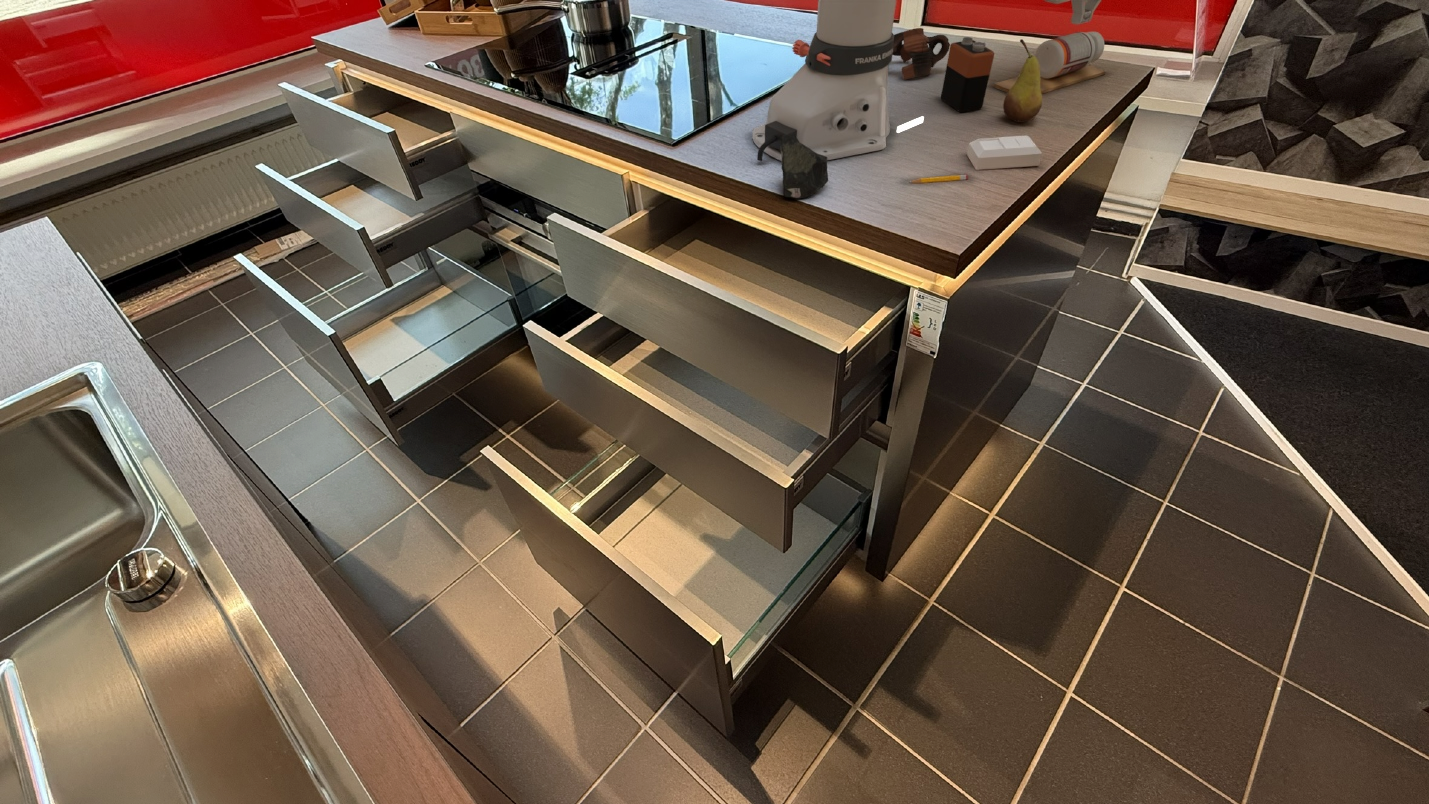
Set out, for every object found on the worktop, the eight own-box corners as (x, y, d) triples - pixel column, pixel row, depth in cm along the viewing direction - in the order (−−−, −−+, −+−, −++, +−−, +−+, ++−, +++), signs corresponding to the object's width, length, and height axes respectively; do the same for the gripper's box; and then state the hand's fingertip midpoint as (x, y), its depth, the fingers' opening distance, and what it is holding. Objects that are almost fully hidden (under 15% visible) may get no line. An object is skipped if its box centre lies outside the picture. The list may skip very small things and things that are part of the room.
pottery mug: (888, 85, 125) (880, 36, 123) (885, 91, 134) (877, 46, 131) (956, 65, 122) (949, 15, 120) (948, 72, 131) (942, 26, 129)
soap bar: (1038, 165, 99) (1043, 147, 97) (976, 169, 99) (979, 152, 97) (1027, 150, 102) (1032, 133, 101) (966, 154, 103) (970, 137, 101)
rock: (831, 131, 95) (825, 150, 100) (781, 131, 95) (778, 150, 100) (831, 193, 93) (826, 209, 98) (781, 193, 94) (778, 208, 98)
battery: (959, 113, 113) (973, 49, 106) (939, 99, 118) (950, 36, 111) (983, 109, 114) (997, 45, 107) (961, 95, 119) (974, 33, 112)
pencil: (968, 177, 97) (967, 173, 97) (909, 182, 97) (908, 178, 97) (966, 181, 98) (965, 177, 98) (908, 186, 98) (907, 182, 98)
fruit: (1022, 130, 108) (1045, 49, 99) (992, 119, 111) (1011, 39, 103) (1044, 120, 110) (1068, 40, 102) (1014, 110, 113) (1035, 31, 105)
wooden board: (1023, 99, 116) (1024, 95, 116) (993, 87, 121) (994, 83, 120) (1104, 74, 123) (1106, 70, 122) (1073, 63, 127) (1074, 59, 127)
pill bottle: (1026, 71, 123) (1071, 58, 127) (1052, 85, 119) (1097, 71, 123) (1039, 35, 118) (1085, 23, 122) (1066, 48, 115) (1113, 35, 118)
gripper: (1079, -61, 102) (1051, 39, 112) (1170, -81, 108) (1136, 15, 118) (1045, -68, 106) (1021, 30, 116) (1135, -87, 112) (1105, 7, 122)
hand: (1080, 22), depth 117 cm, fingers closed
